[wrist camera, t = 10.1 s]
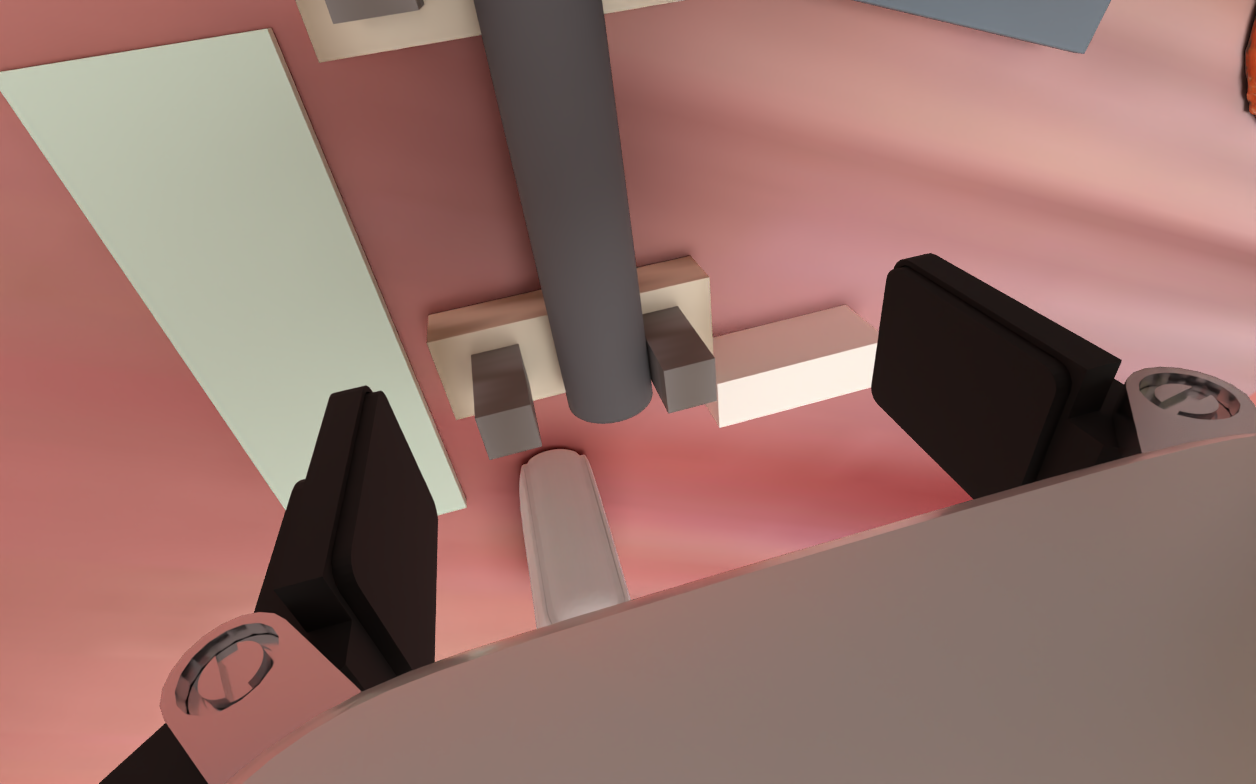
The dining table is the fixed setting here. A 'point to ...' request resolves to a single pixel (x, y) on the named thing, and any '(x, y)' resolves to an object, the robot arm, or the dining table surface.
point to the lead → (572, 194)
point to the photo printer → (567, 539)
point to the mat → (231, 237)
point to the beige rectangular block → (791, 364)
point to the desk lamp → (1015, 18)
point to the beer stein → (1251, 69)
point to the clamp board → (518, 325)
